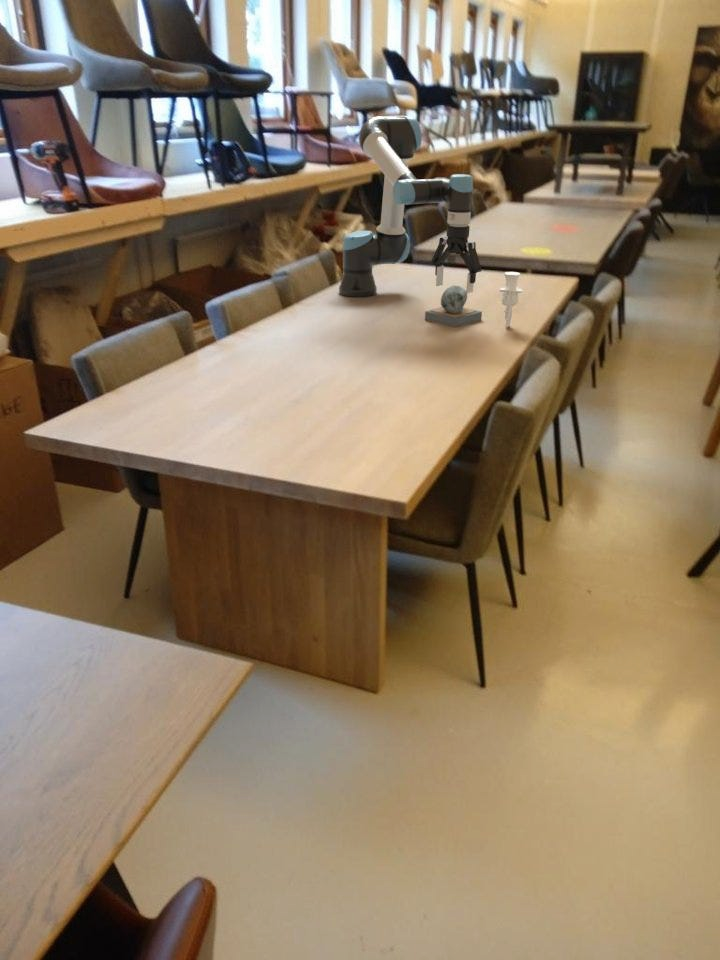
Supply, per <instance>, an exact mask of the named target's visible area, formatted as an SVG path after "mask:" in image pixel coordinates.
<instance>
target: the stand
mask: <svg viewBox="0 0 720 960" xmlns="http://www.w3.org/2000/svg"><path fill="white" fill-rule="evenodd" d="M482 314H483V311H480V310H476V309H473V308H472V309H471V308H467V307H463V308H462V310H461V311H460V312H458V313H456V314H453V313H449V312H447V311H446V310H445V309H444V308H443V307H442V306H441V307H438V308H433V309H429V310H426V311H424V320H425V321H428V322H432V323H436V324H439V325H444V326H448V327H449V326H450V327H453V328H458V327H461V326H466V325H468V324H472V323H476V322H479V321H482Z"/></svg>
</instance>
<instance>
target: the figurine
mask: <svg viewBox="0 0 720 960" xmlns="http://www.w3.org/2000/svg"><path fill="white" fill-rule="evenodd" d="M520 275H521V272H517V271H505V272H504V276H505V284H504V285H505V286H502V287H500V288H499V289H498V291H499V292H500V293H502V297H501V299H500V301H501V304H502V305H503V306H505V307H506V308H505V310H504V311H503V312H504V319H505V325H504V327H506V328H509V327H510V325H511V321H512V317H513V307H515V306H516V305H517V304H518V303H519V301H520V300H519V295H518V294H521V293H523V289H522V288H521V287H518V281H519V277H520Z"/></svg>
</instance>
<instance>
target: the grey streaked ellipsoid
mask: <svg viewBox="0 0 720 960" xmlns="http://www.w3.org/2000/svg"><path fill="white" fill-rule="evenodd" d="M467 300H468V293H466V288H464V287H462V286H460V285H451V286H449V287H447V288H446V289H445V290H444V292H443V293H442V295H441V298H440V305H441V307H443V308H444V309H445V310H446V311H447V312H449V313H453V314H456V313H458V312H460V311H461V310H462V308H464V306H466V305H465V304H466V302H467Z"/></svg>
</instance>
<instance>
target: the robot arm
mask: <svg viewBox="0 0 720 960" xmlns="http://www.w3.org/2000/svg"><path fill="white" fill-rule="evenodd" d="M358 143H359V145H360V148H361V150H362V152H363V153H364V155H365V156H366V157H368V158H371V159H372V160H373V161H374V164H375V165H376V166H377V167H378V169H379V170H380V171H381V172H382V173H383V175H384V181H383V191H382V192H383V193H382V203H381V204H382V205H381V214H380V224H379V225H377V227H376V229H375V230H376V231H375V234H374V233H373V231H371V230H357V231H353V232H349V233H347V234H345V235H344V237H343V239H342V241H343V242H342V264H343V265H342V269H343V270H342V273H343V274H342V277H341V281H340V285H339V286H338V293H339V295H341V296H345V297H346V296H347V297H353V298H362V297H370V296H374V295H377V285H376V282H375V279H374V275H373V266H377V265H390V264H391V265H395V264H399V263H402V262H404V261H405V260H406V259H407V258H408V256H409V253H410V250H411V249H410V247H411V241H410V240H411V239H410V237H409V235H408V233H406V229H405V227H404V226H403V223H404V222H403V221H404V213H405V205H406V206H408V205H417V204H437V203H439V204H440V203H445V204H447V205H448V206H447V222H446V223H447V224H448V225H447V226H446V236H442V237H439V239H438V245H437V247H436V250H435V252H434V255H432V259H431V261H430V263H431V265H432V264H433V265H434V266H435V271H434V272H435V277H436V279H435V286H436V287H440V286H443V284H444V267H445V266H444V262H446V261H447V259H448V258H449V257H450V255H451V254H456V255H459V256H460V257H461V258H462V260H463V262H464V264H465V266H466V268H467V270H468V273H467V276H466V288H465V291H466V293H467V294H471V293H473V292H474V285H475V283H476V278H477V277H476V276H477V273H480V272H482V267H481V263H480V259H479V256H478V252H477V250H476V249H477V248H476V245H477V244H476V242H475V241H471V242H469V240H468V239H469V236H470V230H471V229H470V224H471V213H472V211H471V209H472V201H473V190H474V185H473V181H474V179H473V176H472V175H471V174H463V173H462V174H461V173H460V174H459V173H458V174H457V173H455V174H451V175H450V177H449V178H447V177H441V176H439V177H435V178H424V179H422V178H421V179H418V178H416V176H415V175H414V174H413V173H412V171H411V170H410V168H409V163H410V161H411V160H413V158H414V155H415V154H414V152H416V151H419V149H420V147H421V145H422V130H421V126H420V124H419V121H418V120H417V119H416V118H415V117H413V116H409V115H408V116H407V115H384V116H383V115H377V116H376V115H375V116H372V117H370V118H369V119H367V120H366V121H365V122H364V123H363V125H362V126H361V128H360V131H359V135H358Z"/></svg>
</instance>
